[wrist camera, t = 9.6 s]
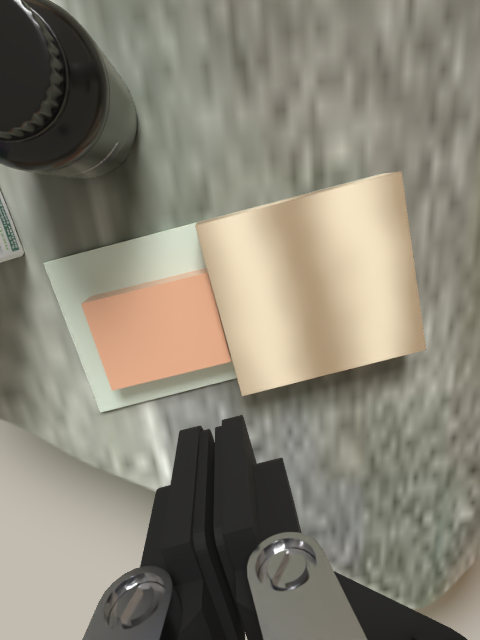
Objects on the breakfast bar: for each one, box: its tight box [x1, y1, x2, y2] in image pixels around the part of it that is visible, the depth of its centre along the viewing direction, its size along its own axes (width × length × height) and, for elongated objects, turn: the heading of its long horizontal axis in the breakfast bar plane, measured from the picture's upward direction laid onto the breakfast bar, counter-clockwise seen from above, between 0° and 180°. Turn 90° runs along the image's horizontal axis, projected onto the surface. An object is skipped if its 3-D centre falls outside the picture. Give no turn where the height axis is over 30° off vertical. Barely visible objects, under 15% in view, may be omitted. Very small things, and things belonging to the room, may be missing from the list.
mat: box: [43, 173, 385, 412], centre depth 30 cm, size 22×11×1 cm, turn 104°
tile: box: [81, 268, 231, 391], centre depth 29 cm, size 8×6×2 cm
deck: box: [195, 172, 426, 396], centre depth 28 cm, size 12×11×3 cm
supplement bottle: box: [0, 0, 137, 178], centre depth 20 cm, size 7×7×12 cm
